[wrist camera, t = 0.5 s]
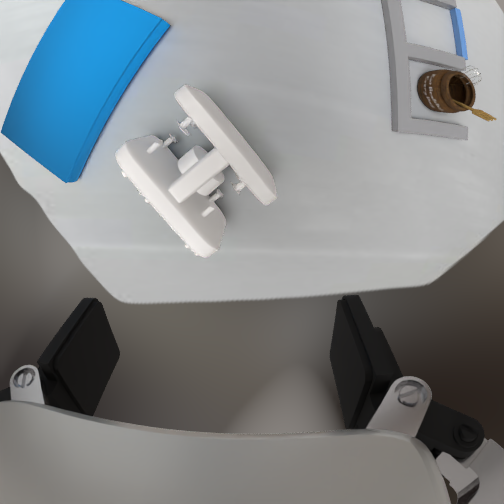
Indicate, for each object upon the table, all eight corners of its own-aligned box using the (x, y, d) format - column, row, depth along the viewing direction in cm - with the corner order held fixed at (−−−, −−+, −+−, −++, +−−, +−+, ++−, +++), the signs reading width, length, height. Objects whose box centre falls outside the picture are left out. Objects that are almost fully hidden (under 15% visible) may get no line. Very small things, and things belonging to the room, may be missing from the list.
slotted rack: (377, -21, 24) (382, -26, 23) (452, 1, 24) (459, -2, 22) (391, 130, 34) (398, 131, 33) (464, 139, 34) (472, 141, 32)
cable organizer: (278, 180, 38) (286, 207, 28) (215, 227, 41) (200, 268, 31) (205, 90, 33) (183, 80, 23) (144, 143, 36) (102, 157, 26)
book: (0, 133, 31) (74, -17, 21) (17, 129, 35) (88, -10, 25) (69, 186, 35) (164, 17, 25) (84, 178, 39) (174, 26, 29)
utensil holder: (442, 69, 30) (496, 64, 19) (453, 111, 32) (508, 118, 21) (410, 73, 31) (461, 65, 20) (422, 116, 33) (475, 123, 22)
